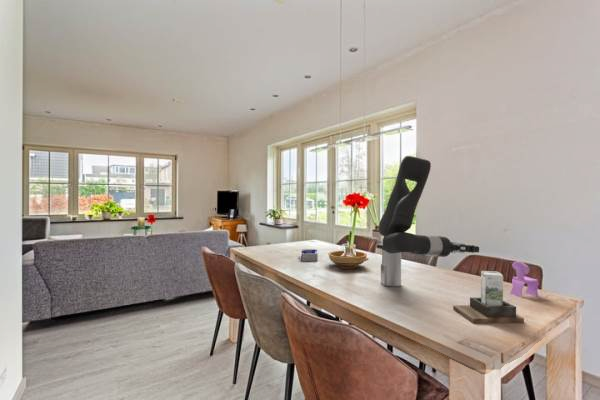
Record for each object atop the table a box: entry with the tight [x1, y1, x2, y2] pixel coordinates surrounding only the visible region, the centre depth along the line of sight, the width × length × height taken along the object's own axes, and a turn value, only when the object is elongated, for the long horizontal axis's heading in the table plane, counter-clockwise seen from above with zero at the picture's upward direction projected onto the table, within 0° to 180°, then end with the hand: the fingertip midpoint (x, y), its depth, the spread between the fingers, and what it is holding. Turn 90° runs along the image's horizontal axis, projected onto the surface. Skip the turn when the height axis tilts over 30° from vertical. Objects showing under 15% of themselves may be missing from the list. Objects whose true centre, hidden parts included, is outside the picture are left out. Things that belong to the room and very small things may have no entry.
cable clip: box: [301, 248, 318, 260], centre depth 216 cm, size 12×4×6 cm, turn 132°
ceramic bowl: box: [327, 250, 369, 269], centre depth 192 cm, size 30×24×8 cm
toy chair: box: [509, 260, 539, 298], centre depth 136 cm, size 8×9×15 cm
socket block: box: [452, 296, 525, 324], centre depth 112 cm, size 18×13×5 cm
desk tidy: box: [301, 248, 319, 262], centre depth 216 cm, size 10×18×5 cm, turn 1°
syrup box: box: [480, 270, 504, 306], centre depth 112 cm, size 6×6×14 cm
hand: (468, 248), depth 117 cm, fingers open, 8 cm apart
